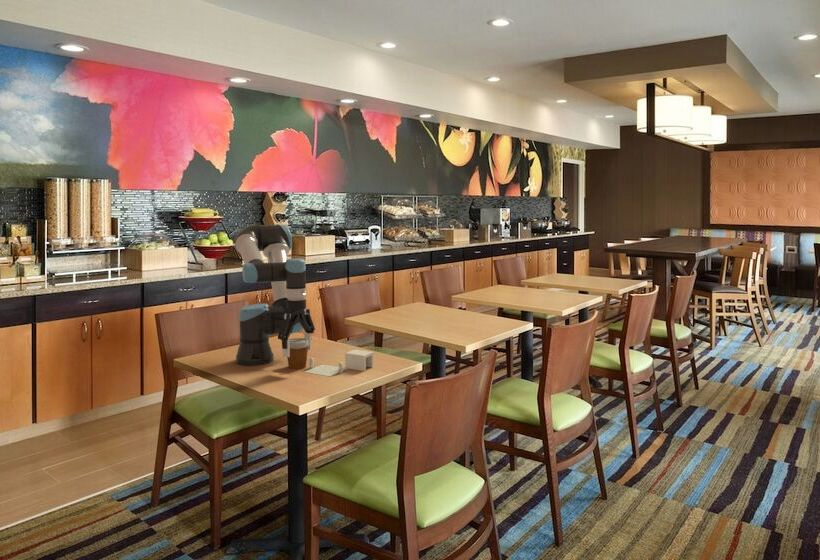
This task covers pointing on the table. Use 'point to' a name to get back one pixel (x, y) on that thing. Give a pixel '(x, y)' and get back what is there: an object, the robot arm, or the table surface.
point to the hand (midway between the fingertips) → (297, 353)
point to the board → (325, 369)
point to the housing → (358, 360)
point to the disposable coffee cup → (298, 353)
